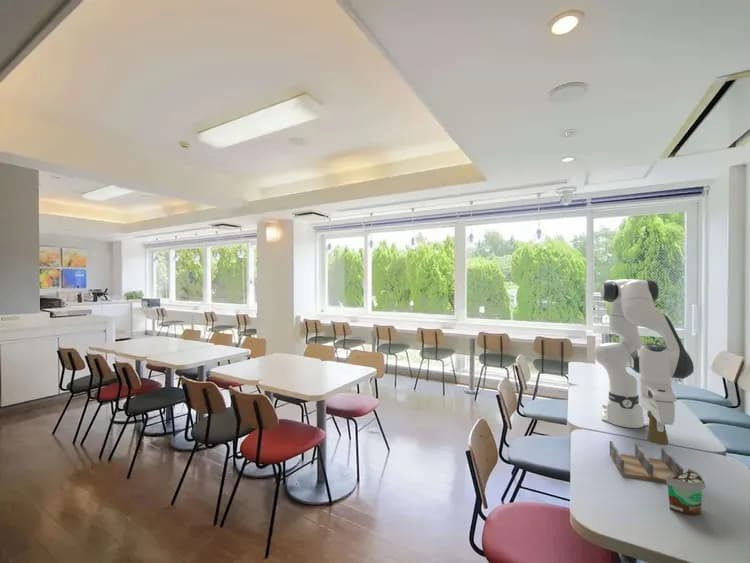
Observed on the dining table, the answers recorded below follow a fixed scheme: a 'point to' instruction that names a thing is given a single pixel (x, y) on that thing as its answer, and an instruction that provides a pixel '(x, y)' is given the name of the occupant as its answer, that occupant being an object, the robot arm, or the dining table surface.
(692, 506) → the food container
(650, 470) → the slot rack
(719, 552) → the dining table surface
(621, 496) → the dining table surface
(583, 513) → the dining table surface
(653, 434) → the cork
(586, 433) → the dining table surface
